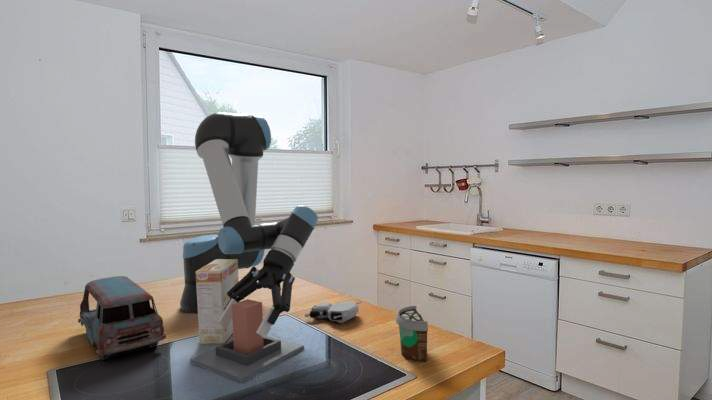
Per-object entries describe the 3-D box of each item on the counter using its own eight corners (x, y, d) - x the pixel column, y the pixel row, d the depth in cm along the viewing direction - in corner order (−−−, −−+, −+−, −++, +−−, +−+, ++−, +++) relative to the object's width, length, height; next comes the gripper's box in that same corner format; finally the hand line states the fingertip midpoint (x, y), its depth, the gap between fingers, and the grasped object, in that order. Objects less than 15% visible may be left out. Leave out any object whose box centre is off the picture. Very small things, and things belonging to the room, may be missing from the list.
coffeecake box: (218, 323, 126) (215, 258, 125) (241, 323, 126) (239, 258, 124) (197, 344, 111) (194, 271, 110) (224, 344, 111) (221, 270, 110)
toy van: (99, 370, 98) (94, 306, 96) (77, 332, 121) (74, 281, 120) (169, 350, 108) (166, 292, 107) (137, 319, 132) (134, 271, 131)
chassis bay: (190, 362, 100) (189, 350, 100) (254, 334, 117) (253, 324, 117) (242, 382, 90) (241, 369, 90) (304, 348, 107) (303, 337, 107)
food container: (392, 344, 108) (391, 306, 108) (416, 343, 109) (415, 305, 108) (401, 366, 96) (401, 323, 95) (428, 365, 97) (427, 322, 96)
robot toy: (302, 325, 126) (349, 327, 120) (301, 310, 126) (347, 312, 120) (321, 312, 137) (364, 313, 131) (320, 298, 137) (363, 299, 131)
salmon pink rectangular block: (233, 353, 103) (231, 304, 102) (249, 345, 107) (247, 299, 106) (248, 357, 100) (245, 308, 99) (263, 350, 104) (261, 302, 103)
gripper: (325, 269, 108) (287, 348, 96) (257, 259, 122) (216, 327, 110) (311, 252, 103) (269, 333, 92) (242, 244, 117) (197, 313, 106)
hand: (240, 330), depth 101 cm, fingers open, 13 cm apart
